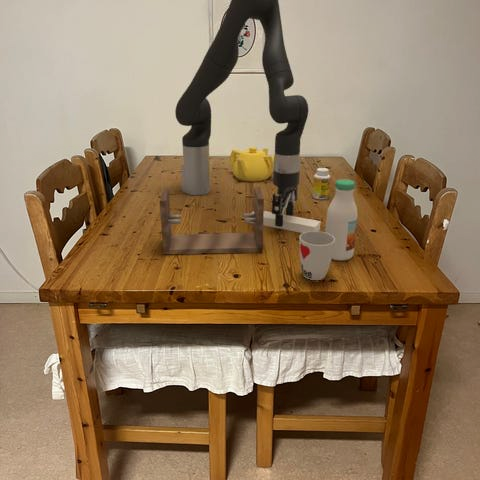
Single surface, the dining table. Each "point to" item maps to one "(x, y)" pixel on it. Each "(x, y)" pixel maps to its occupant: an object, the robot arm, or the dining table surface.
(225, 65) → the robot arm
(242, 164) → the teapot
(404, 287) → the dining table surface
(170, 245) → the shelf frame
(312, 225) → the shelf board
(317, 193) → the supplement bottle
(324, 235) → the cup
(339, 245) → the milk bottle
